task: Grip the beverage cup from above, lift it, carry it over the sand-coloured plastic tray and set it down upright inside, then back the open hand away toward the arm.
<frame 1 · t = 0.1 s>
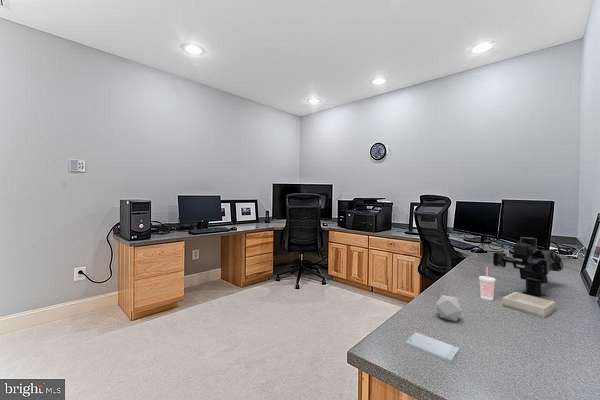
hand: (511, 265, 109), 17 cm above the table, tool horizontal, fingers open, 9 cm apart
tray: (528, 308, 106), on the table
hard drive: (432, 350, 77), on the table
beverage cup: (486, 298, 117), on the table
die: (448, 318, 96), on the table
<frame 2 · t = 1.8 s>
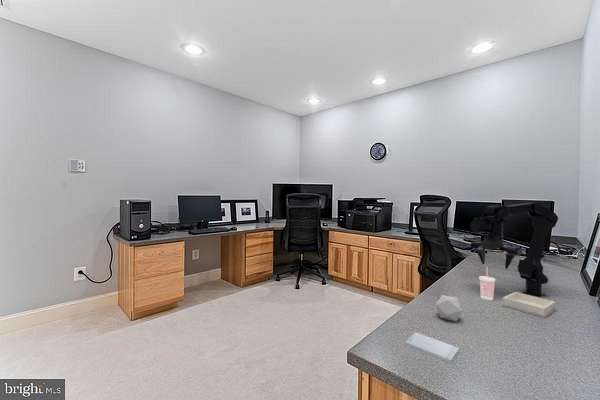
hand: (494, 266, 121), 13 cm above the table, tool pointing down, fingers open, 9 cm apart
nothing on the table moved.
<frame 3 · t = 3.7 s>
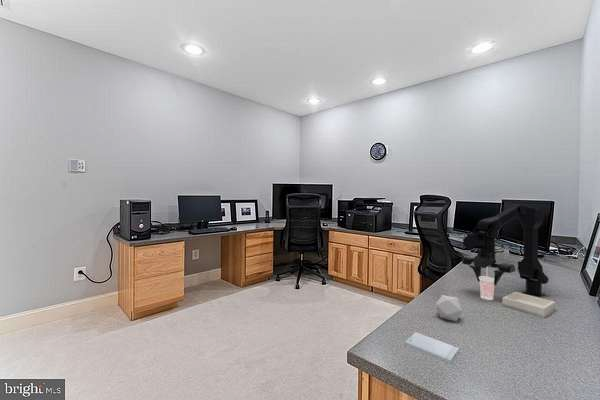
hand: (487, 283, 117), 7 cm above the table, tool pointing down, fingers closed on beverage cup, 6 cm apart
beverage cup: (486, 298, 117), on the table, touching gripper
everything else where it was.
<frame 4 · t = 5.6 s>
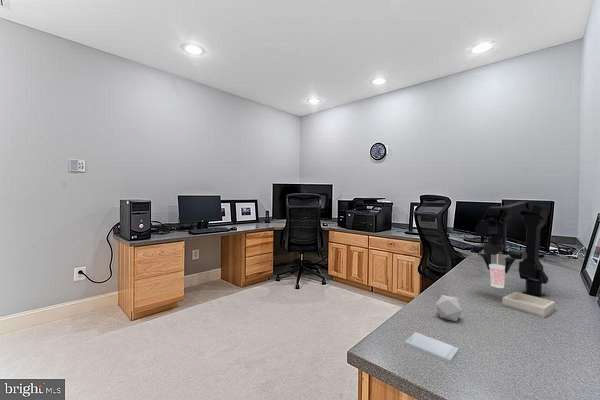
hand: (497, 271, 114), 13 cm above the table, tool pointing down, fingers closed on beverage cup, 6 cm apart
beverage cup: (497, 286, 114), point 6 cm above the table, touching gripper
everything else where it was.
when the fingers open (9 cm above the table, at t = 7.7 s): beverage cup drops 1 cm, resting on tray.
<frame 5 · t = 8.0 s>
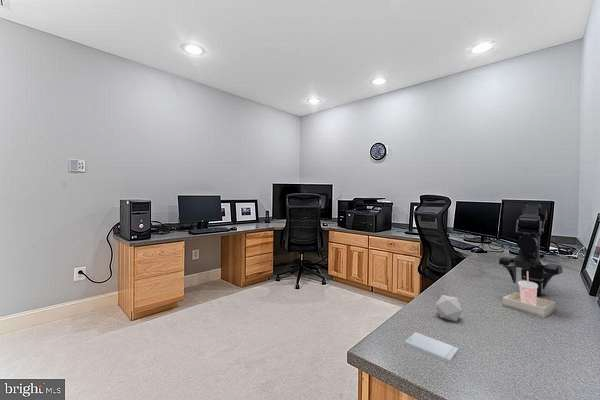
hand: (528, 286, 106), 9 cm above the table, tool pointing down, fingers open, 9 cm apart
beverage cup: (528, 305, 106), point 1 cm above the table, touching tray
everything else where it was.
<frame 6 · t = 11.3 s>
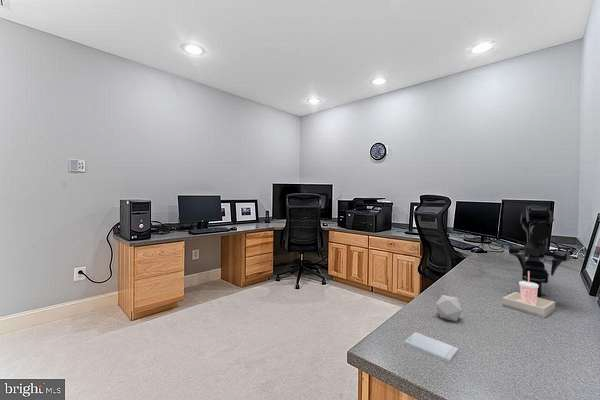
hand: (537, 272, 111), 13 cm above the table, tool pointing down, fingers open, 9 cm apart
at the end: beverage cup inside the target area on the tray (0.2 cm from its centre), point 0.8 cm above the tray's base; beverage cup tilted 0°; the gripper is holding nothing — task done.
